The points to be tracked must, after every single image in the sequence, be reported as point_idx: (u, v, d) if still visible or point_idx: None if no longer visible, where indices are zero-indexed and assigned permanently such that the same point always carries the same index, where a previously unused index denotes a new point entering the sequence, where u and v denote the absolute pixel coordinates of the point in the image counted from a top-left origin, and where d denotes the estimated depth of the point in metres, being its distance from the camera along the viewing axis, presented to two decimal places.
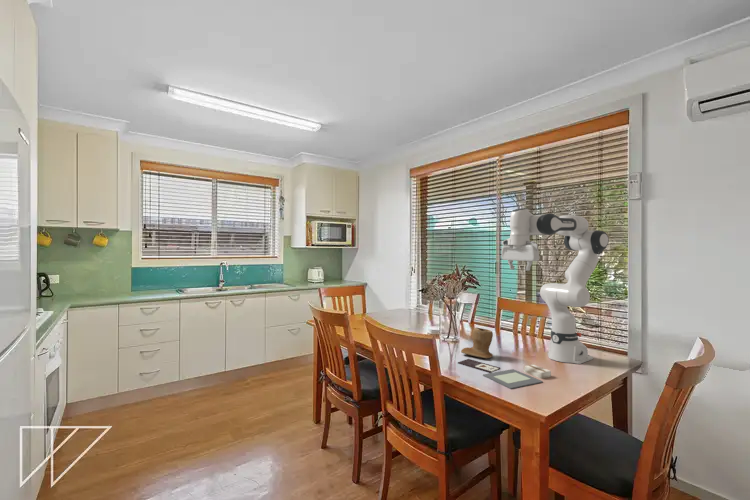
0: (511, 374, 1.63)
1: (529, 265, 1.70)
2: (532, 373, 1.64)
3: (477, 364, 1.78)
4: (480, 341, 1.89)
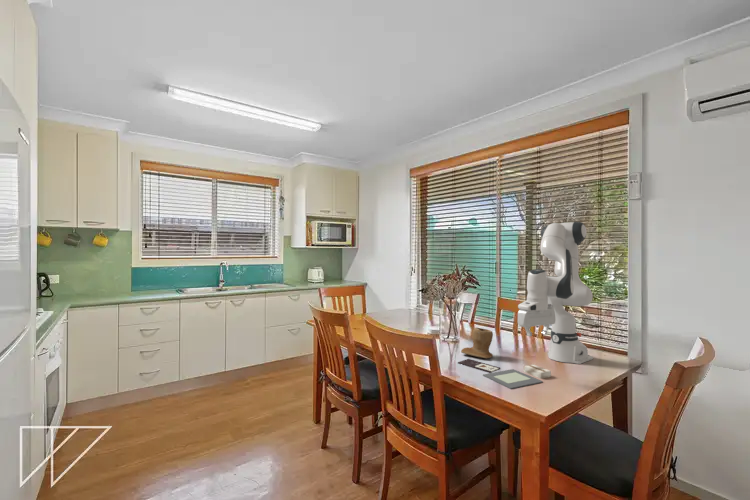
0: (511, 374, 1.63)
1: None
2: (532, 373, 1.64)
3: (477, 364, 1.78)
4: (480, 341, 1.89)
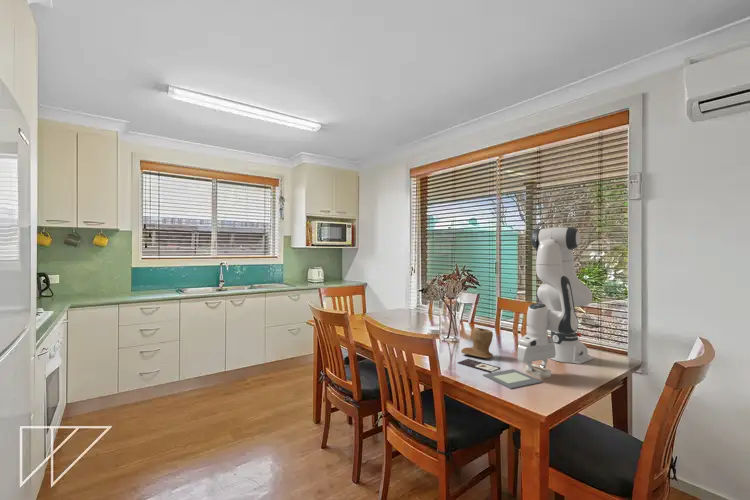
0: (511, 374, 1.63)
1: None
2: (532, 373, 1.64)
3: (477, 364, 1.78)
4: (480, 341, 1.89)
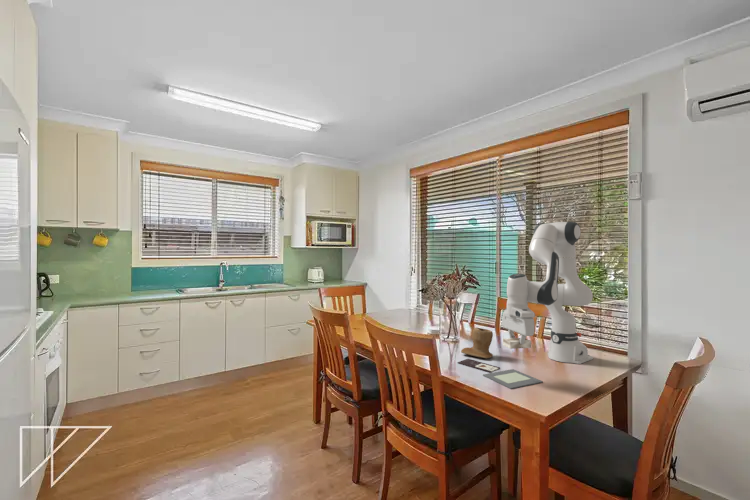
0: (511, 374, 1.63)
1: None
2: (521, 345, 1.58)
3: (477, 364, 1.78)
4: (480, 341, 1.89)
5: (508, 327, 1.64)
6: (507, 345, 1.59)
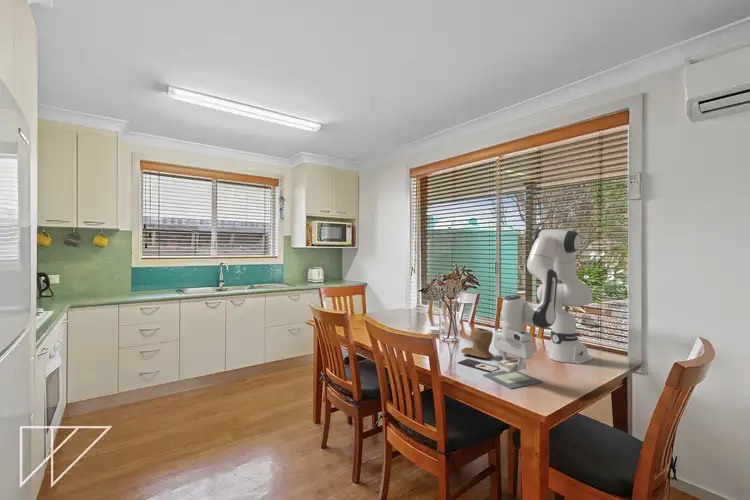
0: (511, 374, 1.63)
1: None
2: (517, 367, 1.57)
3: (477, 364, 1.78)
4: (480, 341, 1.89)
5: (502, 349, 1.62)
6: (504, 368, 1.57)
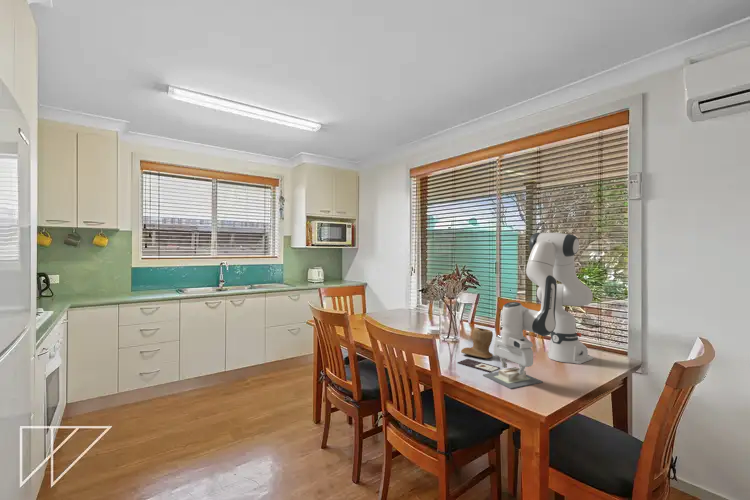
0: None
1: None
2: (517, 377, 1.57)
3: (477, 364, 1.78)
4: (480, 341, 1.89)
5: (502, 356, 1.62)
6: (504, 377, 1.57)
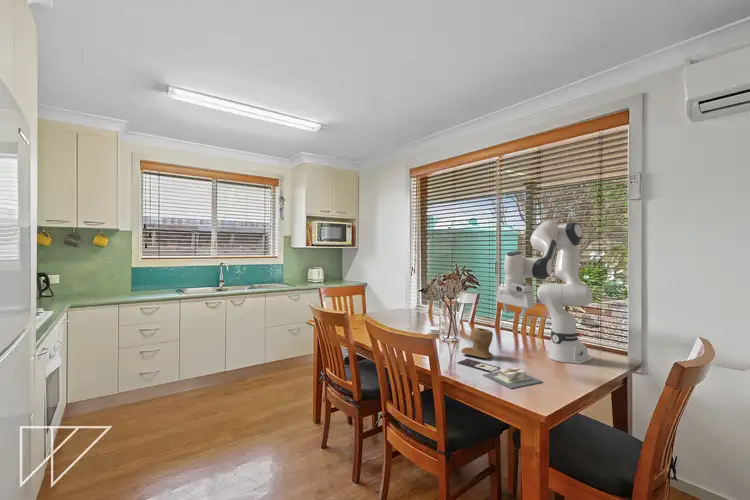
0: None
1: None
2: (517, 377, 1.57)
3: (477, 364, 1.78)
4: (480, 341, 1.89)
5: (505, 302, 1.74)
6: (504, 377, 1.57)
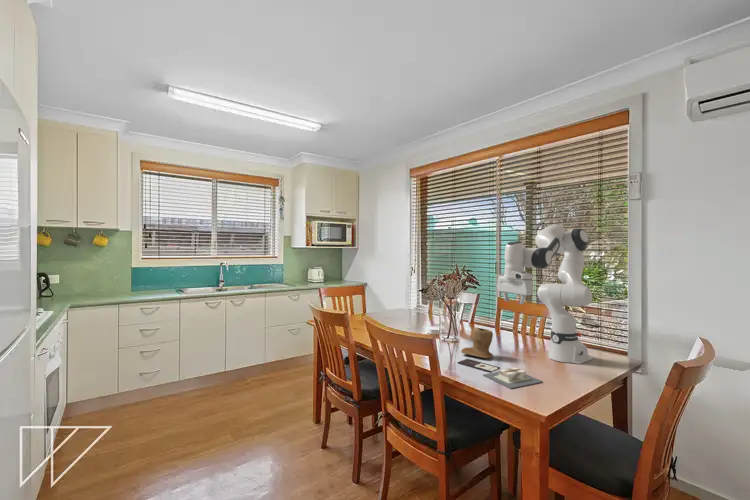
0: None
1: None
2: (517, 377, 1.57)
3: (476, 364, 1.78)
4: (480, 341, 1.89)
5: (505, 290, 1.80)
6: (504, 377, 1.57)
